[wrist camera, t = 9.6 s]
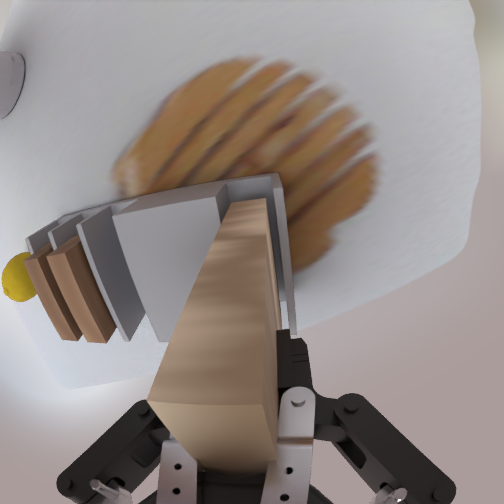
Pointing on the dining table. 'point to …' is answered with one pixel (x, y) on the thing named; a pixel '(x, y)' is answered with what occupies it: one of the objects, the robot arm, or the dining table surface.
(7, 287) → the lemon
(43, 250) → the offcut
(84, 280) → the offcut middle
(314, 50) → the dining table surface
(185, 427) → the wooden block
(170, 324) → the rack
